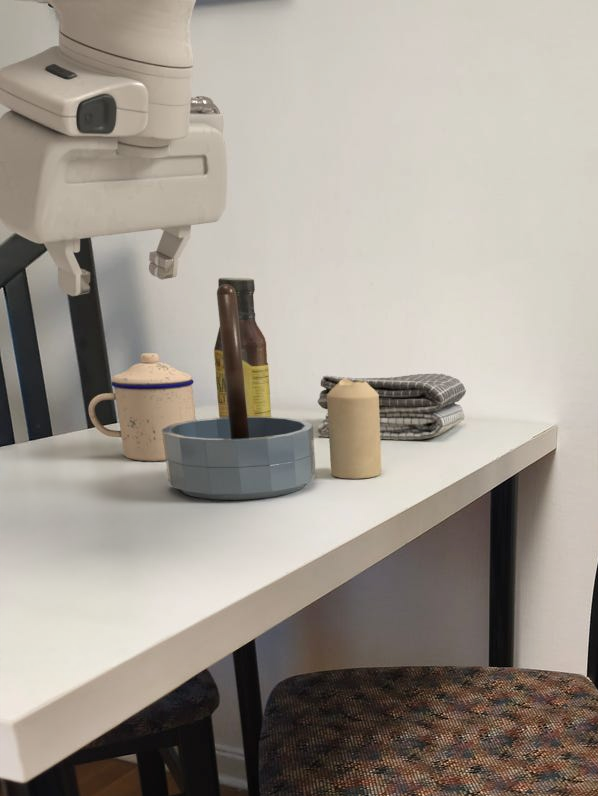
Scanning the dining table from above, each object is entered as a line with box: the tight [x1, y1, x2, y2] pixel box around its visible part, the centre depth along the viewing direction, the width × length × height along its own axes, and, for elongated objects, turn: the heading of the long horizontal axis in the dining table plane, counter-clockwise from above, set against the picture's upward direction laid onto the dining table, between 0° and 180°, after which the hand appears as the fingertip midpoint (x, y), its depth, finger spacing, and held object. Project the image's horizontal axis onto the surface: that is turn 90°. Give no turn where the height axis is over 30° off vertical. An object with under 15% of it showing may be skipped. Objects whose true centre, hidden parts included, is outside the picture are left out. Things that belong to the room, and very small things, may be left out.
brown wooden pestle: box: [216, 284, 249, 439], centre depth 89 cm, size 6×6×19 cm
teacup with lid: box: [88, 352, 197, 462], centre depth 105 cm, size 12×9×12 cm
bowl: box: [162, 416, 317, 501], centre depth 91 cm, size 15×15×6 cm
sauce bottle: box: [213, 277, 272, 418], centre depth 107 cm, size 6×6×20 cm
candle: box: [327, 379, 382, 480], centre depth 96 cm, size 6×6×10 cm
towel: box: [316, 373, 467, 441], centre depth 123 cm, size 15×18×8 cm
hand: (120, 284), depth 73 cm, fingers open, 8 cm apart
